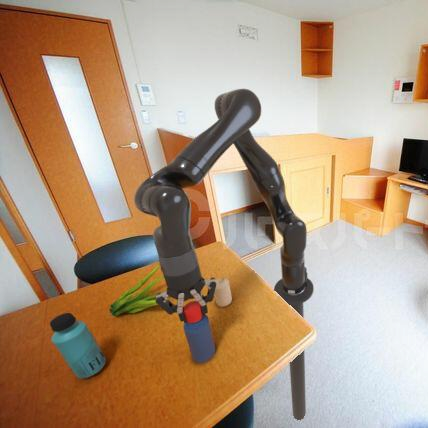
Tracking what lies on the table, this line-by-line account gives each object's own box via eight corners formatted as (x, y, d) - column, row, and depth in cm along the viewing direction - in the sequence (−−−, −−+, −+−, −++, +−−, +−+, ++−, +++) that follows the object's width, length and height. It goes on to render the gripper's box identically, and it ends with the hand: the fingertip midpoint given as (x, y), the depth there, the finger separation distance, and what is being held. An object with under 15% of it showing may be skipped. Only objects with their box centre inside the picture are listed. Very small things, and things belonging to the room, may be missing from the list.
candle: (216, 308, 85) (211, 287, 81) (216, 298, 90) (211, 277, 86) (232, 304, 88) (228, 282, 83) (231, 294, 92) (227, 273, 88)
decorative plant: (199, 316, 82) (190, 283, 76) (109, 320, 80) (92, 287, 74) (216, 281, 99) (210, 251, 92) (141, 284, 96) (129, 253, 90)
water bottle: (210, 339, 74) (200, 295, 66) (218, 353, 70) (209, 309, 62) (189, 351, 70) (175, 307, 62) (196, 367, 66) (183, 322, 58)
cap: (186, 325, 61) (183, 315, 59) (185, 313, 64) (183, 303, 62) (203, 319, 63) (201, 309, 61) (202, 308, 66) (199, 298, 64)
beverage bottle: (97, 382, 63) (63, 329, 54) (70, 384, 62) (32, 330, 54) (114, 358, 69) (86, 307, 60) (90, 359, 68) (58, 308, 60)
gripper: (211, 249, 62) (221, 298, 70) (146, 264, 56) (164, 316, 63) (214, 265, 56) (225, 317, 64) (142, 284, 50) (163, 339, 57)
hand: (194, 316), depth 64 cm, fingers closed on cap, 4 cm apart
